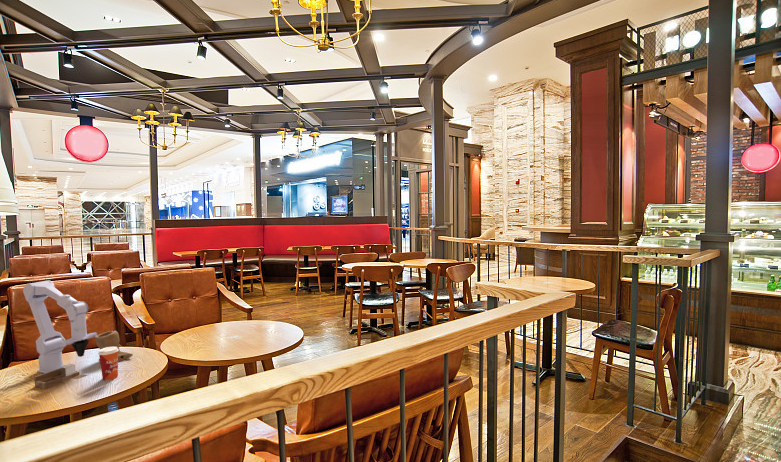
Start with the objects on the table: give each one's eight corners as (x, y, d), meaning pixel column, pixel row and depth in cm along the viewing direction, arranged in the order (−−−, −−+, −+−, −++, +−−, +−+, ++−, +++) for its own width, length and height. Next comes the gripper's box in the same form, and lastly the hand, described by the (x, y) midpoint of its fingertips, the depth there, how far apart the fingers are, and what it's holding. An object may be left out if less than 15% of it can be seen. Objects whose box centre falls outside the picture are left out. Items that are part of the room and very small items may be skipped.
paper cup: (109, 383, 174) (107, 352, 173) (95, 381, 175) (93, 351, 174) (125, 375, 181) (123, 346, 180) (111, 374, 183) (109, 345, 182)
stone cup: (92, 362, 199) (90, 333, 198) (117, 353, 210) (115, 326, 209) (109, 366, 192) (106, 337, 191) (133, 358, 203) (132, 330, 202)
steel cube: (60, 375, 178) (59, 367, 178) (70, 371, 182) (69, 363, 182) (65, 376, 177) (65, 368, 177) (75, 373, 181) (75, 364, 180)
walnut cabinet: (35, 387, 170) (34, 376, 170) (73, 373, 185) (72, 363, 184) (49, 391, 167) (48, 379, 167) (87, 376, 181) (86, 366, 181)
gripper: (66, 333, 176) (69, 362, 177) (100, 324, 189) (102, 351, 190) (57, 332, 178) (59, 361, 179) (90, 323, 192) (92, 350, 193)
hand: (80, 356), depth 185 cm, fingers closed
